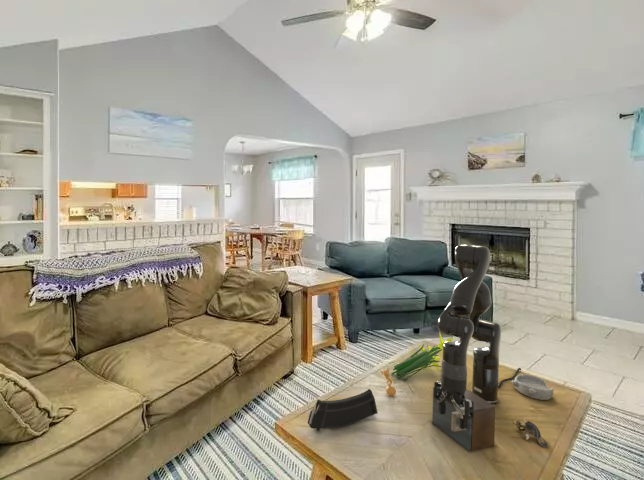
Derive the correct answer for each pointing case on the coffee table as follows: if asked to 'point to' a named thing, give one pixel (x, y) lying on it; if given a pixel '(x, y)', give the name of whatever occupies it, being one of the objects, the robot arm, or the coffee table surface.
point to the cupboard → (481, 422)
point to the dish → (532, 387)
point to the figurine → (389, 389)
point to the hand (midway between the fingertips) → (452, 420)
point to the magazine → (342, 411)
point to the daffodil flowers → (420, 360)
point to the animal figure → (531, 431)
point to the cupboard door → (452, 423)
